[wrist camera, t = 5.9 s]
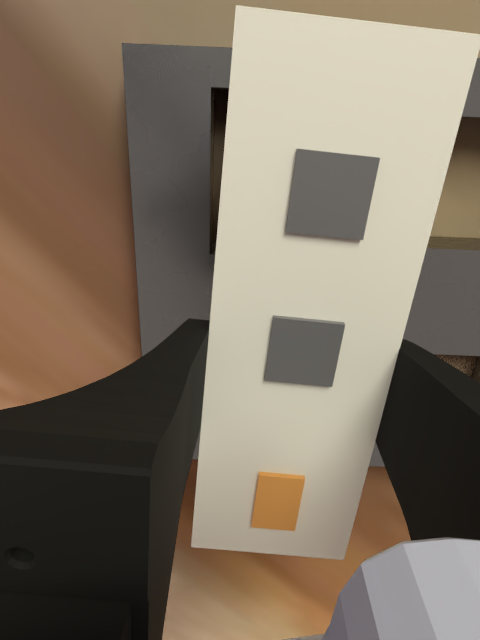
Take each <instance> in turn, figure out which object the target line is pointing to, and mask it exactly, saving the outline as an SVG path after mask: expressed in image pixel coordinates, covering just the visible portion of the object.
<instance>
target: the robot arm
mask: <svg viewBox="0 0 480 640" xmlns="http://www.w3.org/2000/svg"><path fill="white" fill-rule="evenodd" d="M209 325H210V320H201V319H191V318H189V319H187V320H186V321H185V322H184V323H182V324H181V325H180V326H179V327H178V328H177V329H176V330H175V331H174V332H173V333H172V334H170V335H169V336H168V337H167V338H166V339H165V340H163V341H162V342H161V343H160V344H159V345H157V346H156V347H155V348H154V349H152V350H151V351H150V352H148V353H147V354H145V355H144V356H142V357H141V358H140V359H138V360H137V361H135V362H133V363H132V364H130V365H128V366H127V367H125V368H123V369H121V370H119V371H117V372H116V373H114V374H112V375H110V376H108V377H106V378H103V379H101V380H98V381H96V382H94V383H91V384H89V385H86V386H84V387H81V388H79V389H77V390H74V391H71V392H68V393H65V394H62V395H59V396H56V397H52V398H49V399H45V400H42V401H38V402H35V403H31V404H27V405H22V406H17V407H13V408H8V409H3V410H0V640H162V634H163V627H164V620H165V613H166V606H167V599H168V592H169V584H170V578H171V571H172V564H173V557H174V550H175V543H176V537H177V530H178V523H179V517H180V510H181V504H182V499H183V494H184V489H185V485H186V481H187V477H188V474H189V470H190V466H191V462H192V458H193V454H194V450H195V446H196V443H197V439H198V435H199V431H200V427H201V421H202V409H203V397H204V385H205V373H206V362H207V351H208V339H209ZM375 442H376V444H377V447H378V450H379V452H380V455H381V457H382V460H383V463H384V465H385V468H386V470H387V473H388V475H389V478H390V480H391V483H392V485H393V488H394V490H395V493H396V495H397V498H398V501H399V503H400V506H401V508H402V511H403V514H404V517H405V520H406V523H407V526H408V530H409V534H410V538H411V541H403V542H401V543H398V544H396V545H394V546H392V547H390V548H388V549H386V550H384V551H382V552H380V553H378V554H376V555H374V556H372V557H370V558H368V559H366V560H365V561H364V562H363V563H362V564H361V565H360V566H359V567H358V569H357V570H356V571H355V573H354V574H353V576H352V577H351V578H350V580H349V581H348V582H347V584H346V585H345V586H344V588H343V589H342V590H341V592H340V593H339V596H338V600H337V603H336V606H335V609H334V613H333V616H332V619H331V623H330V625H329V627H328V629H327V631H326V633H325V634H321V635H313V636H305V637H298V638H290V639H283V640H480V383H479V382H478V381H476V380H474V379H473V378H471V377H469V376H468V375H466V374H464V373H463V372H461V371H459V370H458V369H456V368H455V367H453V366H451V365H450V364H448V363H447V362H445V361H443V360H442V359H440V358H438V357H437V356H435V355H434V354H432V353H430V352H429V351H427V350H425V349H424V348H422V347H420V346H418V345H416V344H415V343H413V342H410V341H408V340H404V339H402V343H401V346H400V349H399V352H398V356H397V360H396V364H395V368H394V372H393V375H392V379H391V383H390V387H389V391H388V395H387V398H386V402H385V406H384V410H383V414H382V418H381V421H380V425H379V429H378V433H377V437H376V440H375Z"/></svg>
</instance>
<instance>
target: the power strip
mask: <svg viewBox="0 0 480 640" xmlns="http://www.w3.org/2000/svg"><path fill="white" fill-rule="evenodd" d="M479 49H480V34H473V33H464V32H456V31H447V30H439V29H431V28H422V27H414V26H406V25H397V24H389V23H380V22H372V21H364V20H355V19H347V18H339V17H330V16H322V15H313V14H305V13H297V12H288V11H280V10H271V9H263V8H255V7H246V6H238V5H236V12H235V24H234V36H233V48H232V60H231V72H230V84H229V96H228V108H227V120H226V132H225V144H224V156H223V168H222V180H221V192H220V204H219V216H218V228H217V240H216V252H215V264H214V276H213V289H212V301H211V313H210V325H209V339H208V351H207V362H206V373H205V385H204V397H203V409H202V421H201V433H200V445H199V457H198V469H197V481H196V493H195V505H194V517H193V529H192V541H191V547H196V548H208V549H220V550H232V551H244V552H256V553H268V554H280V555H291V556H303V557H315V558H327V559H339V560H344V557H345V553H346V550H347V546H348V542H349V538H350V534H351V531H352V527H353V523H354V519H355V516H356V512H357V508H358V504H359V501H360V497H361V493H362V489H363V486H364V482H365V478H366V474H367V471H368V467H369V463H370V459H371V455H372V452H373V448H374V444H375V440H376V437H377V433H378V429H379V425H380V421H381V418H382V414H383V410H384V406H385V402H386V398H387V395H388V391H389V387H390V383H391V379H392V375H393V372H394V368H395V364H396V360H397V356H398V352H399V349H400V346H401V343H402V339H403V335H404V331H405V327H406V324H407V320H408V316H409V312H410V309H411V305H412V301H413V297H414V294H415V290H416V286H417V282H418V279H419V275H420V271H421V267H422V263H423V260H424V256H425V252H426V248H427V245H428V241H429V237H430V233H431V230H432V226H433V222H434V218H435V215H436V211H437V207H438V203H439V200H440V196H441V192H442V188H443V184H444V181H445V177H446V173H447V169H448V166H449V162H450V158H451V154H452V151H453V147H454V143H455V139H456V136H457V132H458V128H459V124H460V120H461V117H462V113H463V109H464V105H465V102H466V98H467V94H468V90H469V87H470V83H471V79H472V75H473V72H474V68H475V64H476V60H477V56H478V53H479Z"/></svg>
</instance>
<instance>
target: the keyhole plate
mask: <svg viewBox="0 0 480 640" xmlns="http://www.w3.org/2000/svg"><path fill="white" fill-rule="evenodd" d="M122 55H123V70H124V86H125V101H126V116H127V132H128V147H129V163H130V178H131V194H132V209H133V225H134V240H135V256H136V271H137V287H138V302H139V318H140V333H141V349H142V356H144V355H145V354H147V353H148V352H150V351H151V350H152V349H154V348H155V347H156V346H157V345H159V344H160V343H161V342H162V341H163V340H165V339H166V338H167V337H168V336H169V335H170V334H172V333H173V332H174V331H175V330H176V329H177V328H178V327H179V326H180V325H181V324H182V323H184V322H185V321H186V320H187V319H189V318H191V319H201V320H210V313H211V301H212V289H213V276H214V264H215V252H216V241H213V171H214V89H223V90H229V84H230V72H231V60H232V48H227V47H203V46H179V45H155V44H131V43H122ZM462 117H480V58H477V60H476V64H475V68H474V72H473V75H472V79H471V83H470V87H469V90H468V94H467V98H466V102H465V105H464V109H463V113H462ZM403 339H404V340H408V341H410V342H413V343H415V344H416V345H418V346H420V347H422V348H424V349H425V350H427V351H429V352H430V353H432V354H439V355H465V356H478V360H477V363H476V366H475V370H474V373H473V376H472V378H473V379H474V380H476V381H478V382H479V383H480V239H477V238H452V237H429V241H428V245H427V248H426V252H425V256H424V260H423V263H422V267H421V271H420V275H419V279H418V282H417V286H416V290H415V294H414V297H413V301H412V305H411V309H410V312H409V316H408V320H407V324H406V327H405V331H404V335H403ZM200 433H201V427H200V431H199V435H198V439H197V443H196V446H195V450H194V454H193V458H192V459H197V460H198V457H199V445H200ZM369 466H381V467H385V465H384V463H383V460H382V457H381V455H380V452H379V450H378V447H377V444H376V442H375V444H374V448H373V452H372V455H371V459H370V463H369Z"/></svg>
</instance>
